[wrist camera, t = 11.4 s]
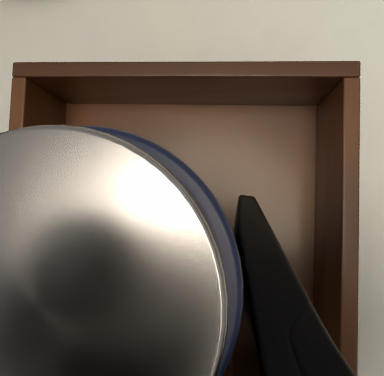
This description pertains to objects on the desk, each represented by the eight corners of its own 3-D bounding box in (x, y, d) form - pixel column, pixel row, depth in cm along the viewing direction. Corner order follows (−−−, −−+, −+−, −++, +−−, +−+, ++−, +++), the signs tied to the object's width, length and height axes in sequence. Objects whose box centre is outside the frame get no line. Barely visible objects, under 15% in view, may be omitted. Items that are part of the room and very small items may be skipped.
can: (239, 262, 15) (310, 463, 3) (153, 289, 16) (-98, 574, 3) (211, 176, 16) (172, 49, 3) (127, 203, 16) (-183, 177, 4)
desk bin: (322, 381, 15) (357, 442, 11) (45, 358, 17) (-10, 407, 13) (326, 96, 16) (361, 60, 12) (60, 95, 17) (12, 61, 13)
